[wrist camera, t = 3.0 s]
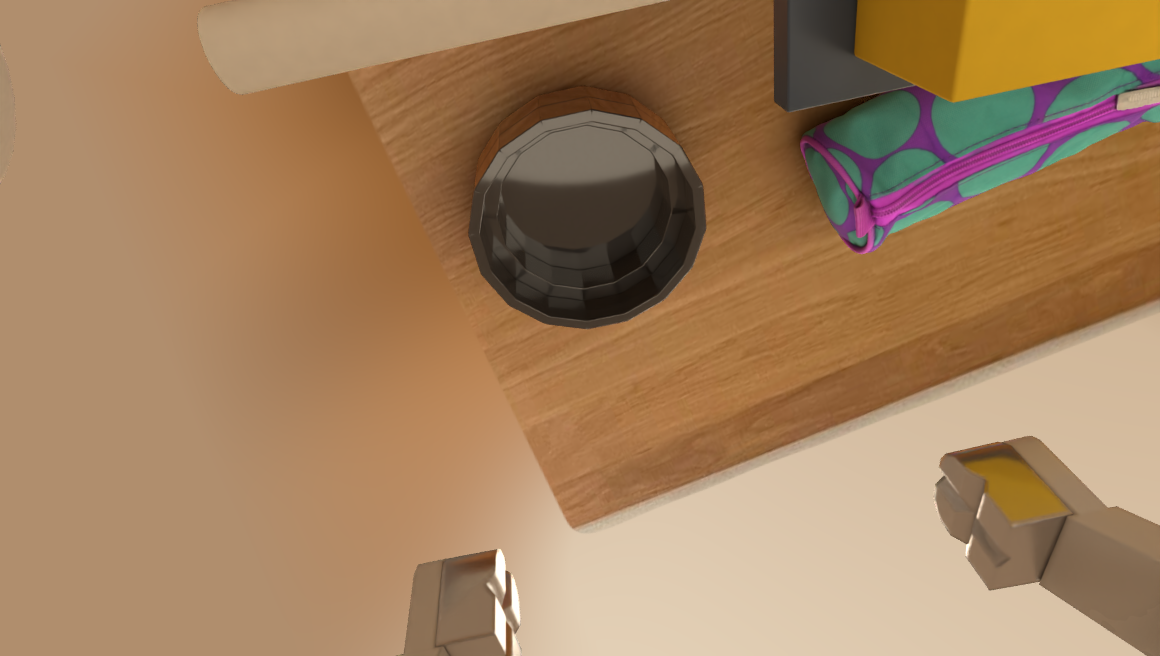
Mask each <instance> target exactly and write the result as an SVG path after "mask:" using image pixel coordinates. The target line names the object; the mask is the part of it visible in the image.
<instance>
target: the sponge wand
mask: <svg viewBox="0 0 1160 656" xmlns="http://www.w3.org/2000/svg"><path fill="white" fill-rule="evenodd" d="M664 1H668V0H232V1H227V2H223V3H218V4H214V5H210V6H205V7H203V8H202V9H201V10H200V11H199V13H198V18H197V27H198V33H199V37H200V41H201V44H202V47H203V50H204V52H205V55H206V57H207V59H208V61H209V63H210V65H211V67H212V68H213V70H214V71H215V73H216V75H217V76H218V77H219V79H220V80H221V81H222V83H223V84H224V85H225V86H226V87H227V88H228V89H230V90H231V91H232V92H234V93H236V94H242V95H243V94H248V93H253V92H257V91H262V90H266V89H271V88H275V87H279V86H284V85H289V84H293V83H298V82H302V81H307V80H311V79H316V78H320V77H325V76H330V75H334V74H339V73H343V72H348V71H352V70H357V69H361V68H366V67H370V66H375V65H379V64H384V63H388V62H393V61H397V60H402V59H406V58H411V57H415V56H420V55H424V54H429V53H433V52H438V51H442V50H447V49H452V48H456V47H461V46H465V45H470V44H474V43H479V42H483V41H488V40H492V39H497V38H501V37H506V36H510V35H515V34H519V33H524V32H528V31H533V30H537V29H542V28H546V27H551V26H555V25H560V24H564V23H569V22H573V21H578V20H582V19H587V18H592V17H596V16H601V15H605V14H610V13H614V12H619V11H623V10H628V9H632V8H637V7H641V6H646V5H650V4H655V3H659V2H664ZM854 54H855V56H856V57H858V58H860V59H862V60H864V61H866V62H869V63H871V64H873V65H875V66H877V67H879V68H881V69H883V70H885V71H887V72H889V73H891V74H893V75H896V76H898V77H900V78H902V79H904V80H906V81H908V82H910V83H912V84H914V85H916V86H918V87H920V88H923V89H925V90H927V91H929V92H931V93H933V94H935V95H937V96H939V97H941V98H943V99H945V100H947V101H950V102H953V103H954V102H959V101H964V100H968V99H973V98H978V97H983V96H987V95H992V94H997V93H1002V92H1006V91H1011V90H1016V89H1020V88H1025V87H1030V86H1035V85H1039V84H1044V83H1049V82H1053V81H1058V80H1063V79H1068V78H1072V77H1077V76H1082V75H1086V74H1091V73H1096V72H1101V71H1105V70H1110V69H1115V68H1119V67H1124V66H1129V65H1134V64H1138V63H1143V62H1148V61H1152V60H1157V59H1160V0H858V2H857V18H856V34H855V49H854Z"/></svg>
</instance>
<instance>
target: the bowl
mask: <svg viewBox="0 0 1160 656" xmlns="http://www.w3.org/2000/svg"><path fill="white" fill-rule="evenodd" d="M705 231H706V215H705V202H704V189H703V184H702V182H701V180H700V178H699V177H698V175H697V173H696V171H695V170H694V168H693V166H692V164H691V163H690V161H689V159H688V157H687V155H686V154H685V152H684V150H683V148H682V147H681V145H680V144H679V142H678V141H677V139H676V138H675V136H674V135H673V133H672V131H671V130H670V128H669V127H668V125H667V124H666V122H665V121H664V120H663V119H662V118H661V117H659V116H658V115H657V114H655V113H654V112H652V111H651V110H650V109H648V108H647V107H645V106H644V105H642V104H641V103H640V102H638V101H637V100H635V99H634V98H633V97H631V96H630V95H627V94H624V93H619V92H613V91H608V90H603V89H598V88H593V87H588V86H579V87H574V88H570V89H565V90H561V91H556V92H551V93H547V94H542V95H539V96H536V97H535V98H533V99H532V100H531V101H529V102H528V103H526V104H525V105H524V106H522V107H521V108H519V109H518V110H517V111H515V112H514V113H512V114H511V115H510V116H508V117H507V118H505V119H504V120H503V121H501V123H499V125H498V127H497V128H496V130H495V132H494V133H493V135H492V137H491V138H490V140H489V142H488V143H487V145H486V147H485V148H484V150H483V152H482V153H481V155H480V157H479V158H478V162H477V169H476V176H475V184H474V191H473V199H472V207H471V216H470V224H469V232H468V233H469V238H470V241H471V245H472V248H473V251H474V254H475V257H476V260H477V263H478V266H479V269H480V272H481V274H482V276H483V277H484V278H485V279H486V280H487V281H488V283H489V284H490V285H491V286H492V287H493V288H494V289H495V290H496V292H497V293H498V294H499V295H500V296H501V297H502V298H503V299H504V301H505V302H506V303H507V304H508V305H509V306H511V307H513V308H515V309H517V310H519V311H521V312H523V313H525V314H527V315H529V316H531V317H533V318H534V319H536V320H538V321H540V322H542V323H544V324H548V325H556V326H564V327H572V328H580V329H592V328H596V327H601V326H606V325H611V324H616V323H621V322H626V321H628V320H631V319H632V318H634V317H636V316H638V315H639V314H641V313H643V312H645V311H646V310H648V309H650V308H652V307H653V306H655V305H657V304H658V303H660V302H662V301H664V299H666V298H667V297H668V296H669V294H670V293H671V292H672V291H673V290H674V289H675V287H676V286H677V285H678V284H679V283H680V282H681V280H682V279H683V278H684V277H685V276H686V275H687V273H688V272H689V271H690V270H691V269H692V267H693V265H694V262H695V259H696V256H697V254H698V251H699V248H700V245H701V242H702V239H703V236H704V234H705Z"/></svg>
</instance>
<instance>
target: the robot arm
mask: <svg viewBox="0 0 1160 656" xmlns="http://www.w3.org/2000/svg"><path fill="white" fill-rule="evenodd" d="M939 469H940V470H941V472H942V473H943V474H944V476H943V477H942V478H941V479H940V480H939V481H938V482H937V483H936V484H935V490H934V501H935V506H936V510H937V513H938V515H939V517H940V519H941V521H942V523H943V525H944V526H945V528H946V529H947V531H948V532H949V533H950V535H951V536H953V537H955V538H956V539H958V540H960V541H962V542H964V543H966V544H967V549H966V558H967V559H968V561H969V562H970V564H971V565H972V566H973V568H974V569H975V571H976V572H977V573H978V575H979V576H980V578H981V579H982V581H983V582H984V583H985V585H986V586H987V588H988V589H989V590H995V589H1001V588H1006V587H1012V586H1018V585H1023V584H1029V583H1035V582H1040V583H1039V585H1041V586H1043V587H1044V588H1045V589H1047V590H1048V591H1050V592H1051V593H1053V594H1054V595H1056V596H1057V597H1059V598H1061V599H1062V600H1064V601H1065V602H1067V603H1068V604H1070V605H1071V606H1073V607H1074V608H1076V609H1077V610H1079V611H1080V612H1082V613H1083V614H1085V615H1086V616H1088V617H1089V618H1091V619H1092V620H1094V621H1095V622H1097V623H1098V624H1100V625H1101V626H1103V627H1104V628H1106V629H1107V630H1109V631H1110V632H1112V633H1113V634H1115V635H1116V636H1118V637H1119V638H1121V639H1122V640H1124V641H1126V642H1127V643H1129V644H1130V645H1132V646H1133V647H1135V648H1136V649H1138V650H1139V651H1141V652H1142V653H1144V654H1145V655H1147V656H1160V526H1159V525H1157V524H1155V523H1153V522H1151V521H1148V520H1146V519H1144V518H1141V517H1139V516H1137V515H1135V514H1133V513H1130V512H1128V511H1126V510H1124V509H1121V508H1119V507H1117V506H1116V507H1110V508H1107V507H1106V506H1105V505H1104V504H1103V503H1102V502H1101V501H1100V500H1099V499H1098V498H1097V497H1096V496H1095V495H1094V494H1093V493H1092V492H1091V491H1090V490H1089V489H1088V488H1087V487H1086V486H1085V485H1084V484H1083V483H1082V482H1081V480H1079V479H1078V477H1077V476H1076V475H1075V474H1073V473H1072V472H1071V470H1070V469H1069V468H1067V466H1066V465H1064V463H1063V462H1062V461H1061V460H1059V459H1058V457H1057V456H1055V454H1053V452H1052V451H1050V450H1049V448H1047V446H1046V445H1044V443H1042V441H1040V440H1039V439H1037V438H1035V437H1033V436H1027V437H1022V438H1017V439H1013V440H1009V441H1004V442H995V443H991V444H987V445H982V446H978V447H973V448H969V449H965V450H960V451H956V452H952V453H947V454H945V455H944V456H943V457H942V458H941V461H940V465H939ZM520 625H521V620H520V606H519V599H518V592H517V588H516V584H515V581H514V578H513V576H512V574H511V573H510V572H508V571H506V570H505V558H504V556H503V554H502V552H501V550H500V549H496V550H491V551H485V552H480V553H476V554H470V555H464V556H459V557H454V558H449V559H443V560H438V561H433V562H428V563H424V564H419V565H418V566H417V569H416V571H415V573H414V578H413V587H412V594H411V602H410V609H409V617H408V625H407V633H406V641H405V648H404V654H401V655H397V656H522V655H521V647H520V645H519V643H518V640H517V638H516V636H515V633H516V632H517V630H518V628H519V626H520Z"/></svg>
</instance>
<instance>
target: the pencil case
mask: <svg viewBox="0 0 1160 656" xmlns="http://www.w3.org/2000/svg"><path fill="white" fill-rule="evenodd" d="M1144 121H1148V122H1153V123H1155V122H1160V59H1157V60H1152V61H1148V62H1143V63H1138V64H1134V65H1129V66H1124V67H1119V68H1115V69H1110V70H1105V71H1101V72H1096V73H1091V74H1086V75H1082V76H1077V77H1072V78H1068V79H1063V80H1058V81H1053V82H1049V83H1044V84H1039V85H1035V86H1030V87H1025V88H1020V89H1016V90H1011V91H1006V92H1002V93H997V94H992V95H987V96H983V97H978V98H973V99H968V100H964V101H959V102H954V103H953V102H950V101H947V100H945V99H943V98H941V97H939V96H937V95H935V94H933V93H931V92H929V91H927V90H925V89H923V88H920V87H918V86H916V85H915V86H910V87H906V88H901V89H896V90H892V91H887V92H884V93H882V94H881V95H879V96H877V97H875V98H873V99H871V100H869V101H867V102H865V103H863V104H861V105H859V106H856V107H854V108H852V109H851V110H849V111H848V112H847V113H846V114H844V115H842V116H839V117H837V118H834V119H832V120H830V121H828V122H825V123H822V124H820V125H818V126H816V127H815V128H813V129H811V130H809V131H807V132H805V133H804V134H803V135H802V138H801V142H800V148H801V151H802V154H803V156H804V159H805V161H806V163H805V164H806V166H807V168H808V171H809V174H810V177H811V179H812V180H813V182H814V184H815V186H816V190H817V193H818V196H819V199H820V201H821V203H822V206H823V208H824V211H825V213H826V215H827V217H828V219H829V221H830V223H831V225H832V226H833V227H834V229H835V230H836V231H837V232H838V234H839V236H840V237H841V239H842V240H843V241H844V242H845V244H846V245H847V246H848V247H849V248H850V249H851V250H853V251H854V252H856V253H859V254H864V253H869V252H872V251H874V250H876V249H877V248H878V247H879V246H880V245H881V244H882V243H883V242H884V240H885V239H886V237H887V236H888V235H889V234H891V233H894V232H897V231H899V230H901V229H904V228H906V227H908V226H910V225H912V224H914V223H916V222H919V221H921V220H924V219H927V218H930V217H932V216H934V215H937V214H939V213H941V212H942V211H944V210H946V209H948V208H950V207H952V206H954V205H957V204H959V203H961V202H963V201H965V200H967V199H969V198H972V197H975V196H977V195H979V194H981V193H983V192H986V191H988V190H990V189H992V188H995V187H997V186H999V185H1001V184H1004V183H1006V182H1009V181H1012V180H1015V179H1018V178H1022V177H1024V176H1027V175H1030V174H1032V173H1034V172H1036V171H1039V170H1041V169H1042V168H1044V167H1047V166H1049V165H1051V164H1053V163H1055V162H1057V161H1059V160H1061V159H1062V158H1066V157H1069V156H1072V155H1074V154H1076V153H1078V152H1080V151H1081V150H1083V149H1085V148H1086V147H1087V146H1089V145H1091V144H1094V143H1096V142H1098V141H1100V140H1102V139H1104V138H1106V137H1108V136H1110V135H1112V134H1115V133H1118V132H1120V131H1123V130H1126V129H1128V128H1131V127H1133V126H1135V125H1137V124H1139V123H1141V122H1144Z"/></svg>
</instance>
